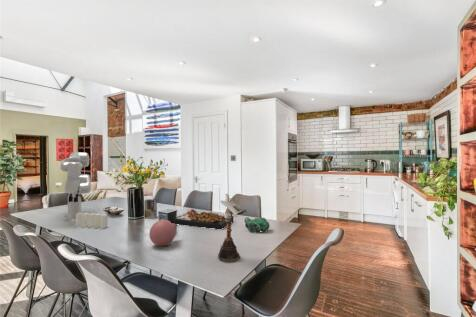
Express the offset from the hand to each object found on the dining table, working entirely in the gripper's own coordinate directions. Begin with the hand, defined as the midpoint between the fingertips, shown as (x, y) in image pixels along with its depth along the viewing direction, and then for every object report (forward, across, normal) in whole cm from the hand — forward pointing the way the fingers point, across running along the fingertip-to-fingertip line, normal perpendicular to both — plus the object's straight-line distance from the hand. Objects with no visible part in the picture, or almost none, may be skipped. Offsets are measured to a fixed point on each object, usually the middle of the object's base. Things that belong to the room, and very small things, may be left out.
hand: (73, 201), depth 183 cm
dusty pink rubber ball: (+20, +88, -18) cm, 92 cm away
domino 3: (+19, +17, 0) cm, 25 cm away
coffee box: (+20, +43, +37) cm, 60 cm away
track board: (+19, +17, 0) cm, 26 cm away
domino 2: (+19, +11, 0) cm, 22 cm away
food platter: (+20, +94, +33) cm, 101 cm away
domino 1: (+19, +6, 0) cm, 19 cm away
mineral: (+20, +140, +21) cm, 143 cm away
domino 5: (+19, +28, 0) cm, 33 cm away
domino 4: (+19, +22, 0) cm, 29 cm away
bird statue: (+20, +134, -29) cm, 139 cm away
